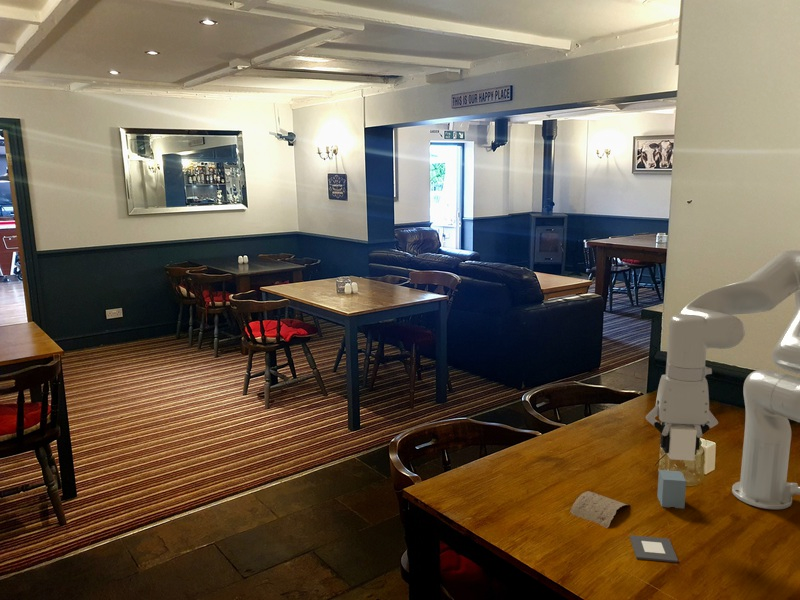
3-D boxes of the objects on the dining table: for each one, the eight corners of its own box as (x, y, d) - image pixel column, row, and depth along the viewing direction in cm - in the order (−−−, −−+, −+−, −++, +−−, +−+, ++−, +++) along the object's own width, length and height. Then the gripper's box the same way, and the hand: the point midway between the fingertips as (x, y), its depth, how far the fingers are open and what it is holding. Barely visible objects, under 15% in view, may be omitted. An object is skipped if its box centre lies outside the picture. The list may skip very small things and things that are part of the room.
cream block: (687, 451, 138) (690, 421, 137) (694, 460, 134) (696, 430, 132) (664, 449, 139) (666, 420, 138) (669, 459, 134) (671, 428, 133)
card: (668, 540, 133) (669, 538, 133) (678, 562, 125) (678, 560, 125) (629, 537, 135) (629, 534, 135) (636, 558, 127) (636, 556, 127)
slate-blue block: (679, 498, 151) (680, 471, 149) (684, 508, 146) (686, 481, 145) (657, 496, 152) (658, 470, 150) (661, 506, 147) (663, 479, 146)
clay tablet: (607, 531, 138) (608, 520, 137) (565, 516, 144) (566, 506, 144) (632, 506, 148) (633, 496, 148) (592, 493, 155) (592, 483, 155)
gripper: (721, 368, 135) (715, 447, 138) (639, 365, 138) (635, 442, 141) (733, 379, 128) (726, 461, 131) (646, 375, 131) (641, 456, 134)
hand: (679, 450), depth 136 cm, fingers closed on cream block, 5 cm apart
